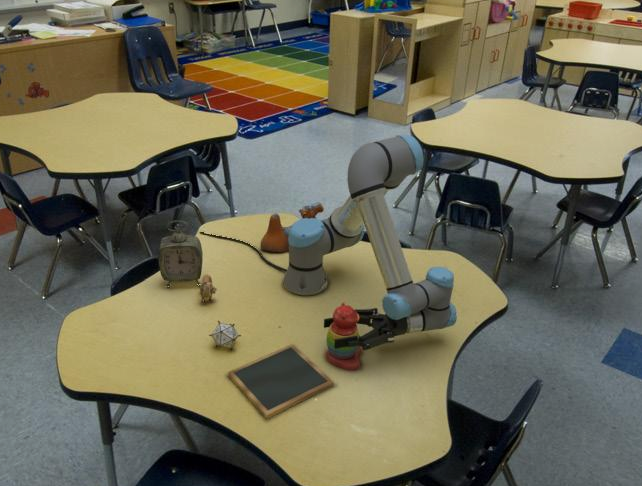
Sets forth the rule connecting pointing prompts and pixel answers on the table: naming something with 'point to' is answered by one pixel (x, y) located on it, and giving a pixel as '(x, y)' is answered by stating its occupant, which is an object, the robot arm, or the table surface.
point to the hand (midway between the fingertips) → (329, 333)
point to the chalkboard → (280, 380)
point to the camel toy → (285, 229)
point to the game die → (225, 335)
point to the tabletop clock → (180, 257)
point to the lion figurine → (207, 288)
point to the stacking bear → (343, 328)
